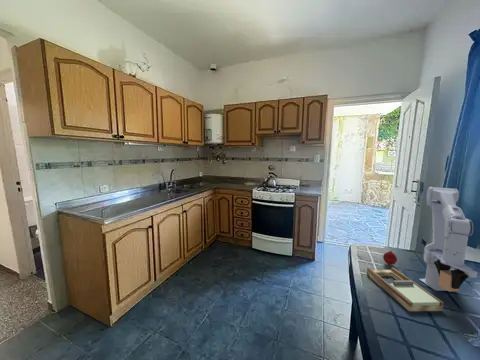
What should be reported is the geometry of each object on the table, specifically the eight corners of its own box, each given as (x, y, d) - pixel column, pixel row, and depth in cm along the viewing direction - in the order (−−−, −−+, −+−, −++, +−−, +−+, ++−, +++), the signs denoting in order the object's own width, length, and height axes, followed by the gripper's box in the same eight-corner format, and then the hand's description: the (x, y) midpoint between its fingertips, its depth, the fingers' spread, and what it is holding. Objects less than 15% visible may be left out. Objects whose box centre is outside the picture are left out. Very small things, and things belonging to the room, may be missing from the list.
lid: (413, 286, 88) (414, 280, 88) (439, 305, 77) (440, 298, 77) (389, 286, 88) (390, 280, 87) (412, 305, 77) (413, 298, 77)
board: (392, 273, 101) (393, 267, 101) (442, 310, 77) (444, 302, 77) (366, 273, 101) (367, 267, 100) (408, 311, 77) (410, 303, 76)
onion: (398, 268, 106) (400, 253, 105) (385, 267, 107) (387, 252, 106) (392, 263, 112) (394, 248, 111) (380, 261, 113) (382, 247, 112)
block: (447, 284, 82) (450, 270, 81) (459, 291, 78) (461, 276, 77) (438, 284, 82) (440, 270, 81) (448, 291, 78) (451, 276, 77)
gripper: (425, 242, 85) (421, 273, 87) (465, 260, 71) (459, 297, 72) (442, 242, 85) (437, 273, 87) (485, 260, 71) (478, 297, 73)
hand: (448, 284), depth 80 cm, fingers closed on block, 4 cm apart
